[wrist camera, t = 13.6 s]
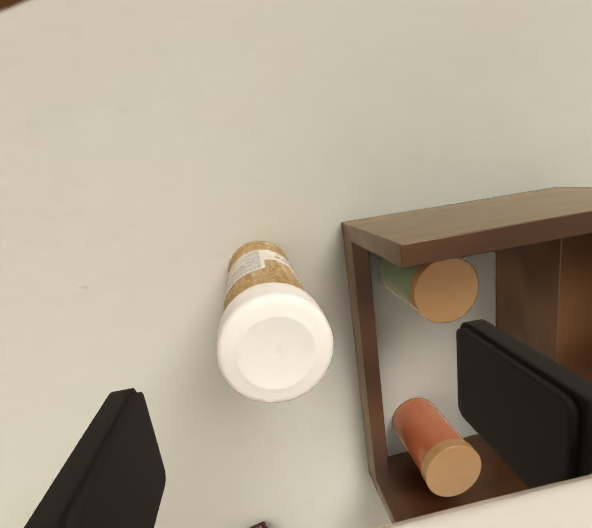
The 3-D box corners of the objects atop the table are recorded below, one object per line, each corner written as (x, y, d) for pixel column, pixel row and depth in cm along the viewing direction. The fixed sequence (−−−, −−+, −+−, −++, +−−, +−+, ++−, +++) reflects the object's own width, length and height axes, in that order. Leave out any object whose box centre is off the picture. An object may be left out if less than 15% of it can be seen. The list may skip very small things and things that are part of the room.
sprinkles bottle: (300, 277, 27) (357, 364, 14) (250, 310, 27) (260, 429, 14) (266, 227, 25) (295, 271, 13) (214, 262, 25) (188, 342, 12)
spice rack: (341, 222, 26) (421, 252, 15) (556, 186, 28) (773, 188, 17) (368, 472, 32) (443, 637, 20) (546, 427, 34) (705, 552, 22)
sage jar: (375, 246, 27) (412, 263, 21) (428, 237, 28) (478, 251, 22) (380, 299, 28) (416, 329, 22) (431, 289, 29) (479, 316, 23)
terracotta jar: (389, 402, 31) (424, 454, 25) (436, 392, 31) (481, 439, 25) (393, 445, 32) (427, 503, 26) (438, 433, 32) (482, 488, 26)
